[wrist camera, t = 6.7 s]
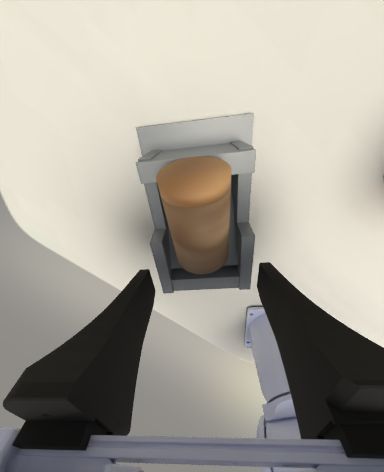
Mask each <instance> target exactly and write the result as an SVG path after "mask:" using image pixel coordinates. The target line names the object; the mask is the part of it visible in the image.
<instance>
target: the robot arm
mask: <svg viewBox="0 0 384 472" xmlns="http://www.w3.org/2000/svg"><path fill="white" fill-rule="evenodd" d="M257 288H258V292H259V296H260V299H261V302H262V305H263V307H250V308H248V309H247V320H246V331H245V343H244V344H245V347H247V348H252V351H253V355H254V360H255V364H256V368H257V373H258V377H259V381H260V386H261V390H262V393H263V395H264V397H265V399H266V401H267V404H263V405H262V407H263V411H264V416H261V417H260V420H259V424H258V428H257V438H218V437H214V438H213V437H166V436H164V437H163V436H127V435H128V433H129V432H130V427H131V418H132V410H133V401H134V394H135V387H136V379H137V374H138V367H139V361H140V356H141V350H142V345H143V341H144V337H145V333H146V330H147V326H148V323H149V319H150V315H151V312H152V308H153V304H154V297H155V288H154V284H153V281H152V278H151V275H150V271H149V269H147V270H140V271H139V272H138V273H137V274H136V275H135V276H134V278H133V279H132V280H131V281H130V282H129V284H128V285H127V286H126V287H125V288H124V289H123V291H122V292H121V293H120V294H119V295H118V296H117V297H116V298H115V300H113V302H112V303H111V304H110V305H109V306H108V307H107V308H106V309H105V310H104V311H103V312H102V313H101V314H99V315H98V316H97V317H96V318H95V319H94V320H93V321H92V322H91V323H89V324H88V325H87V326H86V327H84V328H83V329H82V330H81V331H79V332H78V333H77V334H76V335H75V336H73V337H72V338H71V339H69V340H68V341H66V342H65V343H64V344H62V345H61V346H60V347H58V348H57V349H55V350H54V351H52V352H51V353H50V354H48V355H46V356H45V357H43V358H42V359H40V360H39V361H37V362H36V363H34V364H32V365H31V366H29V367H28V368H26V370H25V371H24V372H23V374H22V375H21V377H20V378H19V379H18V381H17V382H16V384H15V385H14V387H13V388H12V389H11V391H10V392H9V394H8V395H7V397H6V398H5V400H4V401H3V407H4V408H5V409H6V410H8V411H9V412H11V413H13V414H15V415H17V416H18V417H20V418H22V419H24V420H26V421H25V423H24V425H23V427H22V428H21V429H18V428H1V427H0V472H143V471H142V469H141V468H140V467H133V466H126V465H119V464H116V462H129V463H159V464H160V463H161V464H190V465H191V464H192V465H223V466H254V467H261V470H262V472H384V348H383V347H381V346H379V345H377V344H376V343H374V342H372V341H370V340H369V339H367V338H365V337H364V336H362V335H360V334H359V333H357V332H355V331H354V330H352V329H350V328H349V327H347V326H346V325H344V324H343V323H341V322H340V321H338V320H336V319H335V318H334V317H332V316H331V315H329V314H328V313H326V312H325V311H324V310H322V309H321V308H320V307H318V306H317V305H316V304H314V303H313V302H312V301H311V300H309V299H308V298H307V297H306V296H305V295H303V294H302V293H301V292H300V291H299V290H298V289H297V288H295V287H294V286H293V285H292V284H291V283H290V282H289V281H288V280H287V279H286V278H285V277H284V276H283V275H282V274H281V273H280V272H279V271H278V270H277V269H276V268H275V267H274V266H273V265H272V264H271V263H270V262H268V263H260V264H259V273H258V281H257Z"/></svg>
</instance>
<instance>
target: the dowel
mask: <svg viewBox="0 0 384 472" xmlns="http://www.w3.org/2000/svg"><path fill="white" fill-rule="evenodd" d="M156 180H157V184H158V188H159V191H160V195H161V199H162V203H163V206H164V210H165V214H166V218H167V222H168V225H169V229H170V233H171V237H172V241H173V244H174V248H175V252H176V256H177V259H178V262H179V264H180V265H181V267H182V268H183V269H185V270H186V271H188V272H191V273H194V274H209V273H212V272H215V271H217V270H218V269H220V268H221V267H222V266H223V265H224V264H225V263H226V261H227V258H228V247H229V221H230V196H231V166H230V165H229V164H228V163H227V162H225V161H223V160H221V159H218V158H214V157H190V158H184V159H180V160H177V161H174V162H172V163H170V164H168V165H166V166H164V167H163V168H162V169H161V170H160V171H159V172H158V174H157V176H156Z"/></svg>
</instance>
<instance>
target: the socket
mask: <svg viewBox="0 0 384 472" xmlns="http://www.w3.org/2000/svg"><path fill="white" fill-rule="evenodd" d="M253 114H254V113H252V114H244V115H235V116H227V117H219V118H211V119H203V120H195V121H187V122H179V123H171V124H163V125H155V126H147V127H139V128H136V130H137V134H138V139H139V143H140V147H141V152H142V157H141V158H139V159H138V162H136V166H137V170H138V174H139V178H140V182H141V184H142V183H144V185H145V189H146V193H147V197H148V202H149V206H150V210H151V214H152V218H153V222H154V226H155V231H154V234H153V236H152V239H151V241H150V245H151V249H152V253H153V256H154V260H155V264H156V267H157V271H158V275H159V278H160V282H161V286H162V289H163V293H173V292H174V291H179V290H201V289H222V288H239V289H240V290H243V289H250V285H251V274H252V263H253V252H254V240H255V235H254V233H253V231H252V228H251V226H250V224H249V206H250V191H251V176H252V173H254V170H255V157H256V150H255V149H253V146H252V131H253ZM190 157H214V158H218V159H221V160H223V161H225V162H227V163H228V164H229V165H230V166H231V196H230V221H229V247H228V258H227V261H226V263H225V264H224V265H223V266H222V267H221V268H220V269H218V270H217V271H215V272H212V273H209V274H194V273H191V272H188V271H186V270H185V269H183V268H182V267H181V265H180V264H179V262H178V259H177V256H176V252H175V248H174V244H173V241H172V237H171V233H170V229H169V225H168V222H167V218H166V214H165V210H164V206H163V203H162V199H161V195H160V191H159V188H158V184H157V180H156V176H157V174H158V172H159V171H160V170H161V169H162V168H163V167H164V166H166V165H168V164H170V163H172V162H174V161H177V160H180V159H184V158H190Z"/></svg>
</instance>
